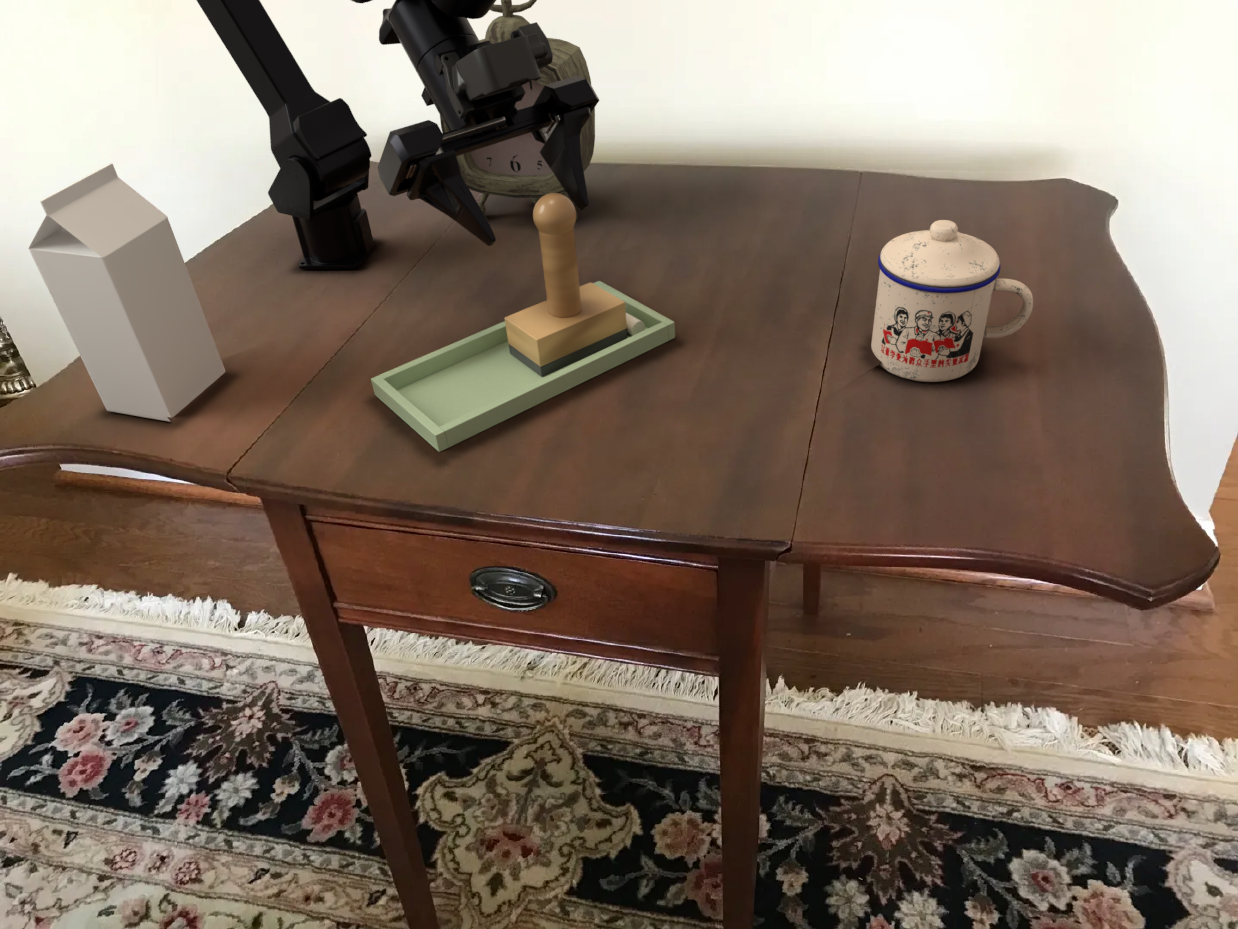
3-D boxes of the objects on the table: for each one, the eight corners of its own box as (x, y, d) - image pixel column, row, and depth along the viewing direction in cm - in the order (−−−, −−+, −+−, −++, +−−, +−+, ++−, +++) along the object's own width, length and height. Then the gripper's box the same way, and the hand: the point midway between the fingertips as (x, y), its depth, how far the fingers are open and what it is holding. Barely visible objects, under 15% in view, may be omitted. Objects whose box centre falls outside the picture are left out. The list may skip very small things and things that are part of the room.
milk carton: (229, 378, 84) (149, 166, 72) (175, 425, 79) (79, 204, 67) (163, 368, 86) (75, 160, 74) (107, 413, 81) (2, 197, 69)
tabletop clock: (458, 223, 106) (414, -25, 91) (489, 190, 113) (454, -46, 97) (581, 232, 102) (558, -25, 87) (606, 198, 109) (589, -47, 94)
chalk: (630, 338, 83) (643, 336, 84) (633, 321, 82) (646, 320, 83) (588, 313, 87) (601, 312, 88) (591, 297, 86) (604, 296, 87)
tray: (440, 459, 73) (435, 435, 71) (376, 401, 79) (370, 378, 78) (675, 344, 84) (674, 321, 82) (601, 302, 90) (599, 280, 89)
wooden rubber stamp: (541, 377, 79) (520, 221, 71) (509, 353, 83) (486, 202, 74) (627, 338, 83) (617, 186, 75) (593, 317, 86) (580, 169, 78)
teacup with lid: (863, 379, 77) (878, 246, 70) (871, 323, 84) (886, 196, 77) (1021, 395, 75) (1054, 257, 67) (1016, 335, 81) (1046, 204, 74)
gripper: (360, 18, 67) (468, 215, 67) (575, -32, 75) (671, 142, 75) (338, 107, 77) (432, 278, 77) (530, 54, 85) (615, 208, 85)
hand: (540, 225), depth 78 cm, fingers open, 9 cm apart
